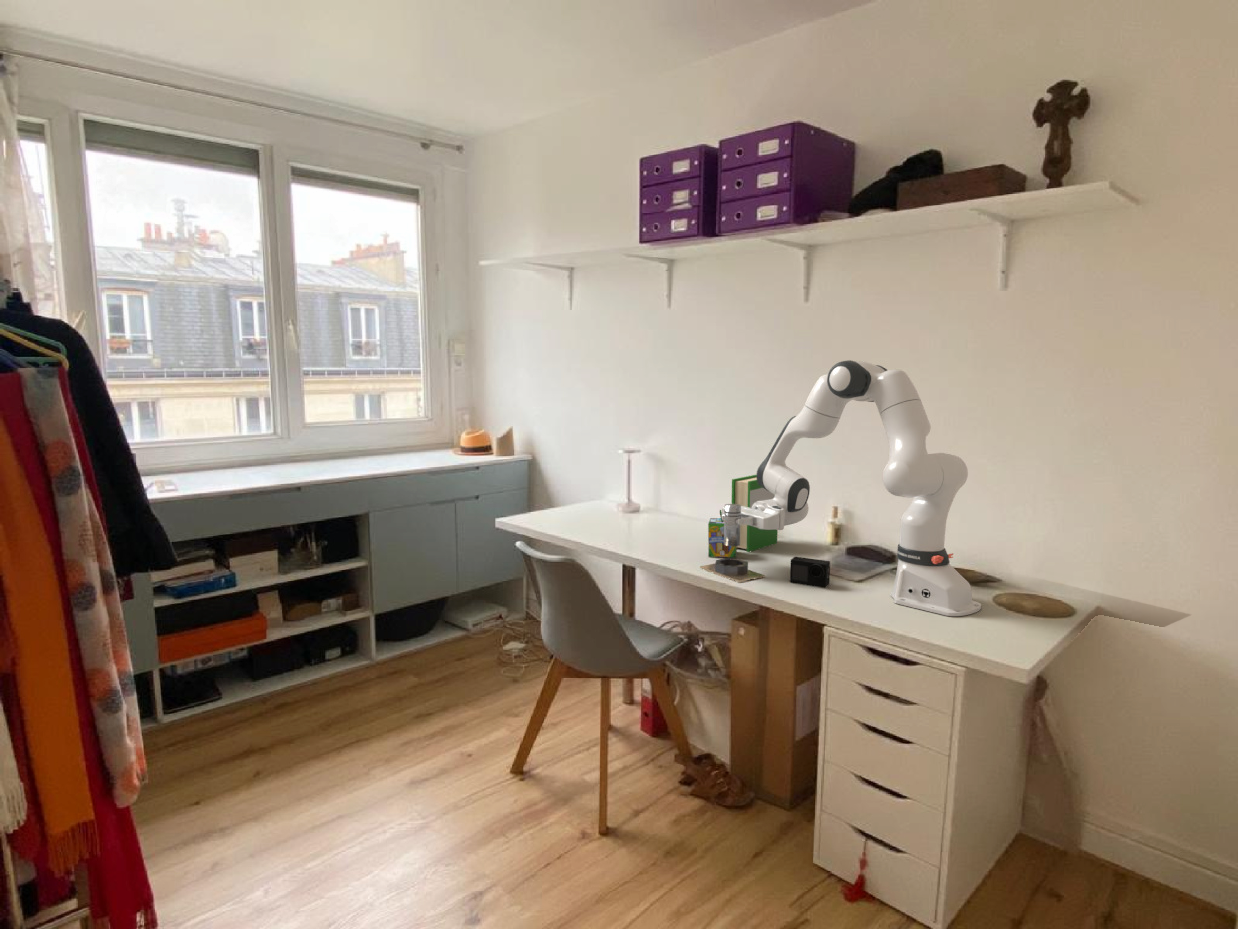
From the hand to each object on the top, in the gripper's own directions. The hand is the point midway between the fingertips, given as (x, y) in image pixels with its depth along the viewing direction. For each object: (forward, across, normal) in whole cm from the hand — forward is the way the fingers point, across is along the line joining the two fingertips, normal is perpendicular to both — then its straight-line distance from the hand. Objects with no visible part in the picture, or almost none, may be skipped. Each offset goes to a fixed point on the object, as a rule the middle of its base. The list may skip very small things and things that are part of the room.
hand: (730, 519), depth 220 cm
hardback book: (-30, -21, +17) cm, 40 cm away
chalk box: (-13, -18, +17) cm, 28 cm away
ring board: (-1, 0, +16) cm, 16 cm away
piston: (-1, 0, +8) cm, 8 cm away
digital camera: (-12, +21, +17) cm, 29 cm away
